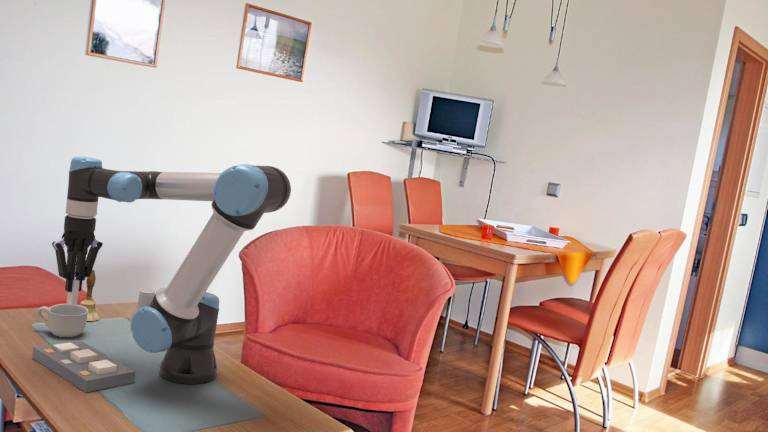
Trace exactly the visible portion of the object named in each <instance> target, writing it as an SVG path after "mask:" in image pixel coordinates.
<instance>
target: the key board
mask: <svg viewBox="0 0 768 432" xmlns="http://www.w3.org/2000/svg"><path fill="white" fill-rule="evenodd" d="M70 342H71V343H72V344H74V345H76V346H78V347H79V348H80V349H79V350H85V349H89V350H91V351H93V352H94V353H96V354H98V358H97V361H101V360H108V361H110V362H112V363H113V364H115V365H117V369H116V372H114V373H109V374H103V375H96V374H95V373H93V372H91V371H90V370H88V366H89V363H90V362H88V363H82V364H78V363H77V362H75V361H73V360H72V359H70V353H71V352H66V353H60V352H59V351H57V350H55V349H54V348H53V345H56V344H63V343H64V342H60V343H59V342H58V343H52V344H47V345H38V346H33V348H32V359H33V360H35V361H37V362H38V363H39V364H40V365H42V366H44V367H46V368H47V369H48V370H50V371H51V372H54V373H55V374H56V375H58V376H60V377H61V378H63V379H64V380H65V381H67V382H69V383H70V384H71V385H73V386H75V387H76V388H77V389H79V390H81V391H82V392H84V393H85V394H87V393H90V392H95V391H100V390H105V389H110V388H115V387H120V386H125V385H130V384H134V383H135V378H136V377H135V376H136V371H135V370H133V369H132V368H131V367H128V366H126V365H124V364H123V363H121V362H120V361H118V360H116V359H114V358H112V357H111V356H109V355H107V354H106V353H103V352H102V351H100V350H98V349H96V348H95V347H93V346H91V345H89V344H88V343H86V342H84V341H83V340H80V339H79V340H75V341H74V340H73V341H68V342H65V343H70ZM94 362H95V361H94Z"/></svg>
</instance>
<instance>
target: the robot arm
mask: <svg viewBox="0 0 768 432" xmlns="http://www.w3.org/2000/svg"><path fill="white" fill-rule="evenodd" d="M291 192H292V187H291V182H290V179H289V178H288V176H287V174H286V173H284V171H282V169H279V168H278V167H276V166H272V165H253V164H249V163H247V164H246V163H243V164H238V165H232V166H229V167H228V168H226V169H224V170H223V171H222V172H191V171H190V172H187V171H186V172H185V171H183V172H181V171H180V172H179V171H157V170H155V171H154V170H153V171H135V170H132V171H131V170H117V169H116V170H114V169H107V168H104V167H103V162H102V160H101V159H98V158H94V157H88V156H74V157H72V158H71V160H70V166H69V170H68V186H67V194H66V202H65V203H66V205H65V214H66V215H65V217H64V222H63V223H64V224H63V233H62V235H61V238H60V239H59V240H57V241H52V243H51V245H52V247H53V249H54V251H55V257H56V263H57V271H58V275H59V276H58V277H60V278H63V279H64V280H65V286H64V290H65V291H66V292H67V296H66V304H71V305H76V304H77V305H78V300H79V292H81V291H82V289H83V288H82V287H83V281H85V280H86V279H87V277H89V276H90V275H91V272H92V270H94V265H95V262H96V259H97V257H98V254H99V251H100V250H101V248H102V247H103V244H104V243H103V242H101V241H98V240H97V239H96V236H95V231H96V225H97V224H96V223H97V218H96V216H97V215H98V204H99V198H104V199H108V200H113V201H116V202H118V203H133V202H135V201H136V200H172V201H192V202H193V201H195V202H211V209H212V212H213V213H212V214H211V216H210V217H209V219H208V221H207V223H206V224H205V226H204V228H203V229H202V230H201V232H200V234H199V235H198V237H197V238H196V239H195V240H196V241H194V243H193V244H192V246H191V248H190V249H189V252H188V253H187V255H186V256H185V257H184V260H183V261H182V262H181V264H180V265H179V268H178V269H177V271H176V272H175V274H174V275H173V277H172V279H171V280H170V282H169V283H168V285H167V286H166V287H162V288H160V289H158V290H157V291H155V296H154V297H153V299H152V300H151V302H150V304H149V305H148V306H145V307H142V308H141V309H139V310H137V309H136V311H135V312H134V313H133V315H132V317H131V320H130V331H131V335H132V338H133V340H134V342H135V343H136V345H137V346H138V347H139V348H140V349H142V350H143V351H145V352H147V353H151V354H156V353H160V352H161V353H162V352H165V354H164V356H163V359H162V360H161V361H160V364H159V371H158V373H159V376H160V377H162V378H163V379H165V380H167V381H170V382H172V383H178V384H183V385H184V384H186V385H198V384H205V383H209V382H211V381H213V380H214V379H216V378H217V374H218V373H217V372H218V365H217V361H216V354H215V349H214V347H215V346H214V345H215V340H216V339H215V338H216V332H217V324H218V317H219V312H220V298H219V297H218V296H217V295H216V294H214V293H211V292H207V291H208V289H209V288H210V286H211V284H213V282H214V280H215V278H216V276H217V275H218V274H219V272H220V271H221V269H222V267H223V265H224V264H225V262H226V261H227V259H228V257H229V256H230V255H231V253H232V251H233V250H234V249H235V247H236V246H237V244H238V242H239V241H240V239H241V238H242V236H243V235H244V233H245V232H247V231H253V230H254V229H255V228H256V226H257V224H258V223H259V222H260V220H261V218H262V216H263V215H264V214H267V213H268V214H269V213H273V212H277V211H278V210H280V209H282V208H284V207H285V205H286V204H287V203H288V201H289V199H290V198H291V194H292V193H291ZM65 247H66V248H67V249H66V252H65V249H64V248H65ZM89 247H90V248H89ZM88 249H89V250H88ZM66 253H67V257H66Z"/></svg>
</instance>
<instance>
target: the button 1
mask: <svg viewBox="0 0 768 432" xmlns="http://www.w3.org/2000/svg"><path fill="white" fill-rule="evenodd" d="M69 342H70V343H66V342H62V343H63V344H58V343H55V344H56V345H53V348H54V349H55V350H57V351H59V352H60V353H66V352H72V351H78V350H79V349H80V348H79V347H78V346H76V345H74V344H72V343H71V342H72V341H69Z"/></svg>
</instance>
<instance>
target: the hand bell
mask: <svg viewBox="0 0 768 432" xmlns="http://www.w3.org/2000/svg"><path fill="white" fill-rule="evenodd" d="M95 271H96V270H94V269H92V272H91V275H90V276H89V277H86V288H87V290H86V295H85V299H84V300H82V301H80V303H79V305H81V306H84V307H86V308H87V309H88V313H87V321H94V322H97V321H96V320H98V321H100V320H101V317H100V316H99V314H98V313H97V312H98V311H97V310H96V309H97V308H96V307H97V306H96V302H95V301H93V300H92V298H93V288H94V287H95V283H96V273H95ZM99 319H100V320H99Z"/></svg>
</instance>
